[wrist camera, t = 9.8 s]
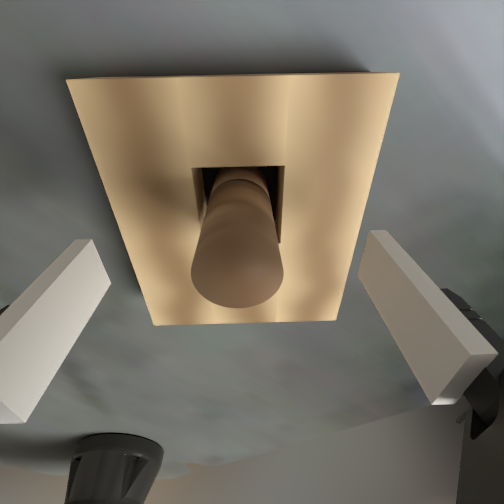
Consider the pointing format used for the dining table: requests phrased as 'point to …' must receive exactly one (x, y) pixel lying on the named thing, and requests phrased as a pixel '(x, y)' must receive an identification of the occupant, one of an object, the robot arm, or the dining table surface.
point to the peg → (238, 242)
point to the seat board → (237, 155)
